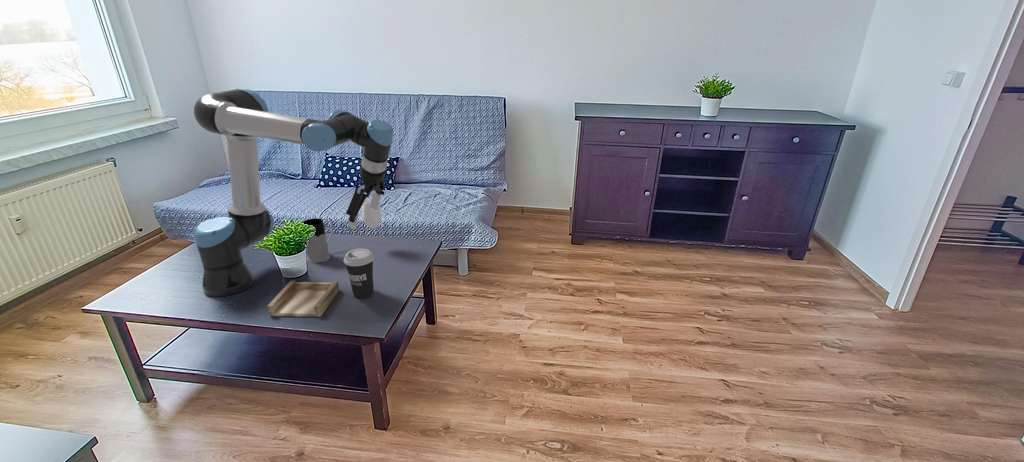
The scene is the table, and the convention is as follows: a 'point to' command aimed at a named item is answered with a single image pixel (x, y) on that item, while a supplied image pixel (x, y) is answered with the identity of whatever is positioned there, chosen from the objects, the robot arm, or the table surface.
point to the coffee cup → (360, 272)
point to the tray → (303, 299)
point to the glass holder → (318, 241)
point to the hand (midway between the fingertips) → (363, 217)
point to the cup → (371, 214)
